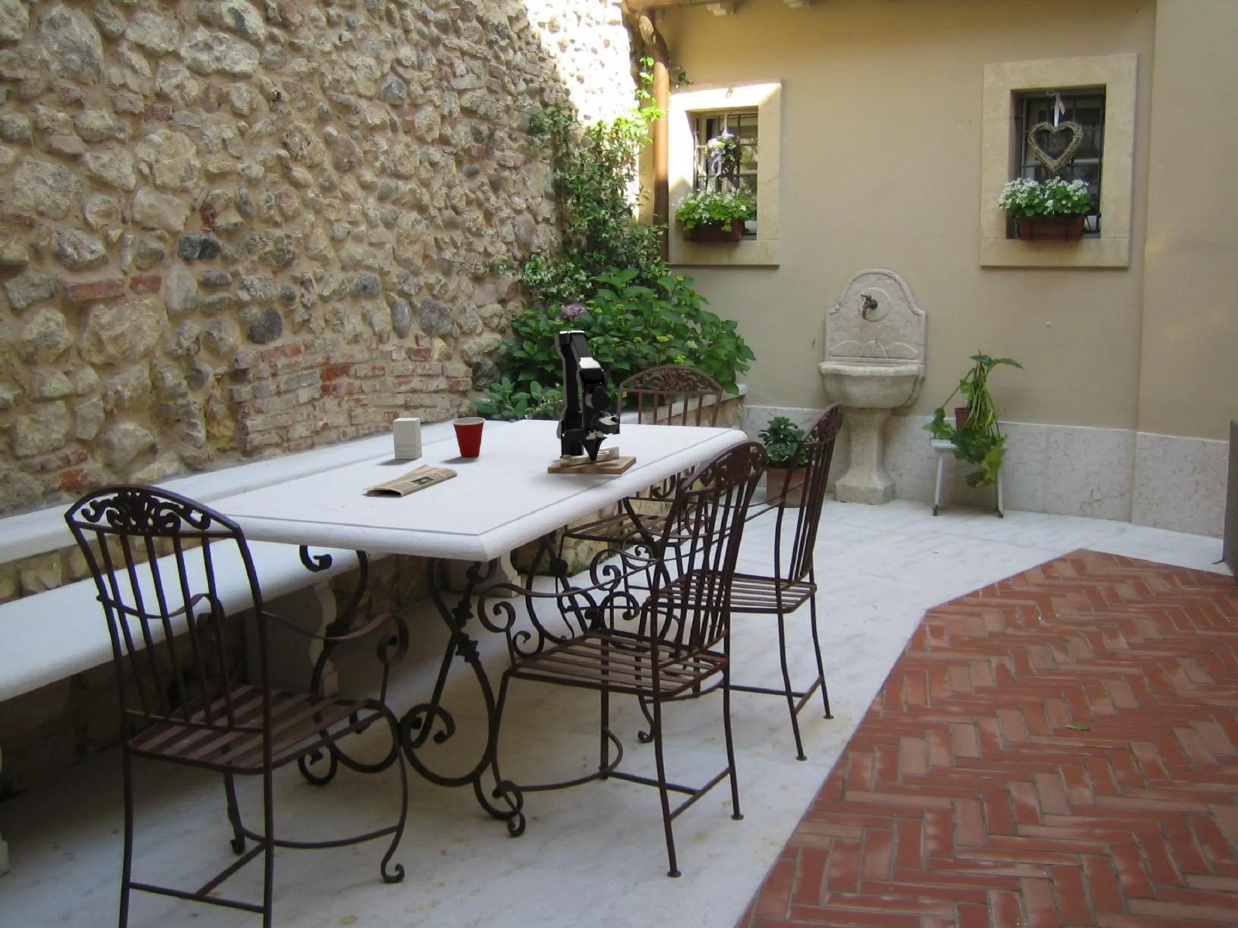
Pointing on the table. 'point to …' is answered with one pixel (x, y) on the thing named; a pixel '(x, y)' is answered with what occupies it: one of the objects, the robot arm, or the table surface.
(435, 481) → the newspaper
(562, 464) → the link
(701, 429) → the table surface
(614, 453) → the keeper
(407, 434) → the supplement box
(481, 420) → the plastic cup
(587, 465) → the board
